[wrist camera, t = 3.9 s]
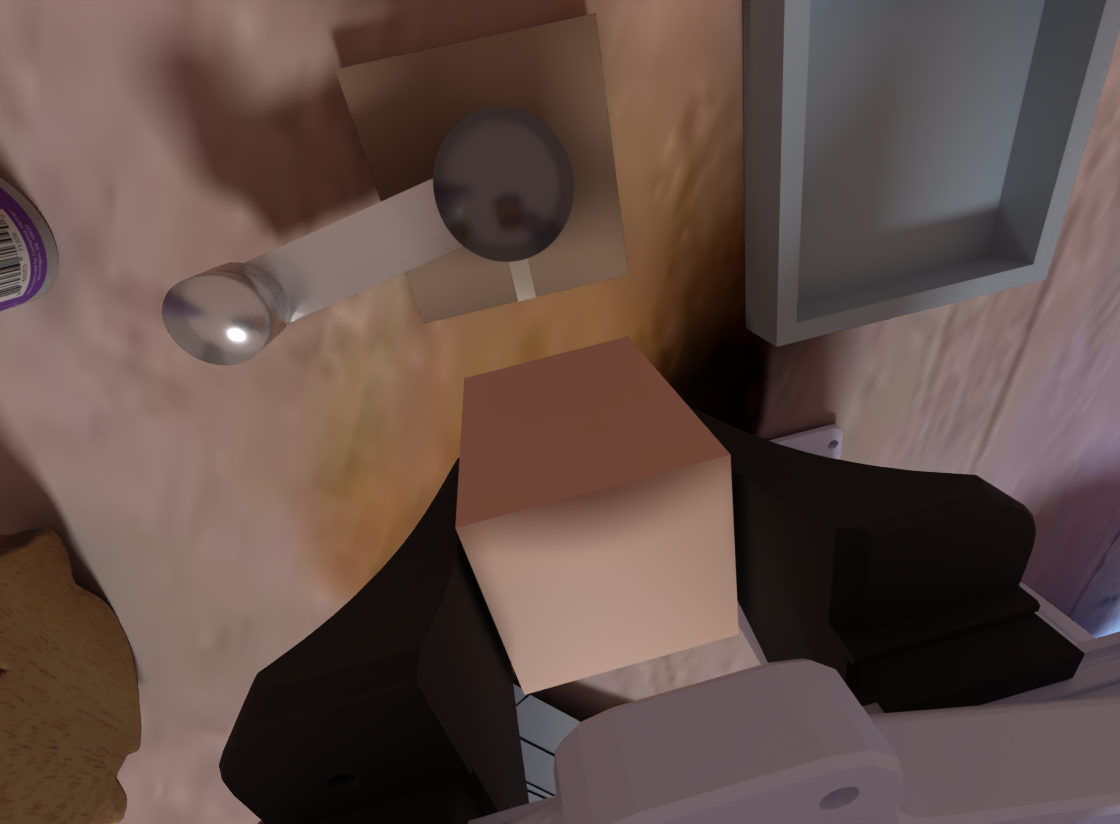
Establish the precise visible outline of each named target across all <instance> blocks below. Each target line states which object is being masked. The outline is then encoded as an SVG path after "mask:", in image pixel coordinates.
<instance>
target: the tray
mask: <svg viewBox="0 0 1120 824" xmlns="http://www.w3.org/2000/svg"><path fill="white" fill-rule="evenodd" d="M1119 29H1120V0H743V85H744V193H745V301H746V328H747V329H748V330H750V331H752V332H753V333H755V334H757V335H758V336H760V337H761V338H763V339H765V340H766V341H768V342H769V343H771V344H773V345H774V346H776V347H778V346H782V345H786V344H790V343H794V342H798V341H802V340H806V339H810V338H814V337H818V336H822V335H826V334H830V333H834V332H838V331H842V330H846V329H850V328H854V327H858V326H862V325H866V324H870V323H874V322H878V321H882V320H886V319H890V318H894V317H898V316H902V315H906V314H910V313H914V312H918V311H922V310H926V309H930V308H934V307H938V306H942V305H946V304H950V303H954V302H958V301H962V300H966V299H970V298H974V297H978V296H982V295H986V294H990V293H994V292H998V291H1002V290H1006V289H1010V288H1014V287H1018V286H1022V285H1026V284H1030V283H1034V282H1038V281H1042V280H1046V278H1047V275H1048V271H1049V268H1050V264H1051V261H1052V258H1053V254H1054V251H1055V247H1056V244H1057V240H1058V237H1059V234H1060V230H1061V227H1062V223H1063V220H1064V217H1065V213H1066V210H1067V206H1068V203H1069V200H1070V196H1071V193H1072V189H1073V186H1074V183H1075V179H1076V176H1077V172H1078V169H1079V166H1080V162H1081V159H1082V155H1083V152H1084V149H1085V145H1086V142H1087V138H1088V135H1089V132H1090V128H1091V125H1092V121H1093V118H1094V115H1095V111H1096V108H1097V104H1098V101H1099V98H1100V94H1101V91H1102V87H1103V84H1104V81H1105V77H1106V74H1107V70H1108V67H1109V64H1110V60H1111V57H1112V53H1113V50H1114V46H1115V43H1116V40H1117V36H1118V33H1119Z"/></svg>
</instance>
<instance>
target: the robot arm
mask: <svg viewBox="0 0 1120 824" xmlns="http://www.w3.org/2000/svg"><path fill="white" fill-rule="evenodd" d="M689 408H690V409H691V410H692V411H693V412H694V413H695V415H696V416H697V417H698V418H699V419H700V420H701V421H702V423H703V424H704V425H705V426H706V427H707V428H708V429H709V431H710V432H711V433H712V434H713V435H714V436H715V437H716V439H717V440H718V441H719V442H720V443H721V444H722V445H723V447H724V448H725V449H726V450H727V451H728V452H729V453H730V455H731V476H732V498H733V520H734V542H735V564H736V585H737V607H738V625H739V627H740V629H741V630H742V632H743V634H744V636H745V637H746V639H747V641H748V643H749V644H750V646H751V648H752V650H753V652H754V653H755V655H756V657H757V659H758V660H759V662H760V664H761V665H759V666H756V667H752V668H749V669H745V670H742V671H738V672H735V673H731V674H728V675H724V676H721V677H717V678H714V679H710V680H707V681H703V682H700V683H696V684H693V685H689V686H686V687H682V688H679V689H675V690H672V691H668V692H665V693H661V694H658V695H654V696H651V697H647V698H644V699H640V700H637V701H633V702H630V703H626V704H623V705H619V706H616V707H612V708H610V709H608V710H606V711H603V712H601V713H599V714H597V715H595V716H593V717H590V718H588V719H586V720H584V721H582V722H580V723H579V724H578V725H577V726H576V727H575V728H574V729H573V730H572V731H571V732H570V734H569V735H568V736H567V737H566V738H565V739H564V740H563V741H562V742H561V743H560V745H559V746H558V747H557V748H556V750H555V760H554V779H555V787H556V796H552V797H549V798H545V799H542V800H539V801H535V802H532V803H529V797H528V790H527V784H526V777H525V770H524V763H523V755H522V748H521V741H520V733H519V726H518V718H517V710H516V702H515V694H514V686H513V677H512V668H511V661H510V659H509V656H508V654H507V651H506V649H505V647H504V644H503V642H502V639H501V637H500V634H499V632H498V630H497V627H496V625H495V622H494V620H493V618H492V615H491V613H490V610H489V608H488V605H487V603H486V601H485V598H484V596H483V593H482V591H481V589H480V586H479V584H478V581H477V579H476V577H475V574H474V572H473V569H472V567H471V564H470V562H469V560H468V557H467V555H466V552H465V550H464V548H463V545H462V543H461V540H460V538H459V535H458V533H457V531H456V528H455V527H456V510H457V494H458V477H459V461H460V458H458V459H457V461H456V462H455V464H454V465H453V467H452V469H451V471H450V472H449V474H448V476H447V478H446V479H445V481H444V483H443V485H442V486H441V488H440V490H439V492H438V493H437V495H436V496H435V498H434V500H433V501H432V503H431V505H430V506H429V508H428V510H427V511H426V513H425V514H424V515H423V517H422V518H421V520H420V521H419V523H418V524H417V526H416V527H415V528H414V530H413V531H412V533H411V534H410V536H409V537H408V538H407V539H406V541H405V542H404V543H403V545H402V546H401V547H400V548H399V549H398V551H397V552H396V553H395V554H394V555H393V556H392V558H391V559H390V560H389V561H388V562H387V563H386V565H385V566H384V567H383V568H382V569H381V570H380V571H379V572H378V573H377V574H376V575H375V576H374V577H373V578H372V579H371V580H370V581H369V582H368V583H367V584H366V585H365V586H364V587H363V588H362V589H361V590H360V591H359V592H358V593H357V594H356V595H355V596H354V597H353V598H352V599H351V600H350V601H349V602H348V603H347V604H345V605H344V606H343V607H342V608H341V609H340V610H339V611H338V612H337V613H335V614H334V615H333V616H332V617H331V618H330V619H328V620H327V621H326V622H325V623H324V624H322V625H321V626H320V627H319V628H318V629H316V630H315V631H314V632H313V633H311V634H310V635H309V636H308V637H306V638H305V639H304V640H302V641H301V642H300V643H298V644H297V645H296V646H294V647H293V648H292V649H290V650H289V651H288V652H286V653H285V654H284V655H282V656H281V657H279V658H278V659H277V660H275V661H274V662H273V663H271V664H270V665H269V666H267V667H266V668H264V669H263V670H261V671H260V672H259V673H257V675H256V677H255V679H254V681H253V683H252V686H251V688H250V690H249V692H248V695H247V697H246V699H245V701H244V704H243V706H242V708H241V711H240V713H239V715H238V718H237V720H236V722H235V725H234V727H233V729H232V732H231V734H230V736H229V739H228V741H227V743H226V746H225V748H224V750H223V753H222V757H221V760H220V763H219V768H220V773H221V777H222V780H223V782H224V783H225V785H226V786H227V787H228V788H229V790H230V791H231V792H232V794H233V795H234V796H235V797H236V798H237V799H238V800H240V801H241V802H242V803H243V804H244V805H245V806H246V807H247V808H249V809H250V810H251V811H252V812H253V813H254V814H255V815H256V816H258V817H259V818H260V819H261V820H262V821H263V822H264V823H265V824H1120V632H1117V633H1113V634H1110V635H1107V636H1103V637H1100V638H1095V637H1093V636H1092V635H1091V634H1089V633H1088V632H1087V631H1086V630H1084V629H1083V628H1082V627H1080V626H1079V625H1078V624H1077V623H1075V622H1074V621H1073V620H1071V619H1070V618H1069V617H1067V616H1066V615H1065V614H1064V613H1062V612H1061V611H1060V610H1058V609H1057V608H1056V607H1054V606H1053V605H1052V604H1050V603H1049V602H1048V601H1046V600H1045V599H1044V598H1042V597H1041V596H1040V595H1038V594H1037V593H1036V592H1034V591H1033V590H1032V589H1030V588H1029V587H1028V586H1026V585H1025V584H1024V583H1022V582H1021V579H1022V576H1023V573H1024V571H1025V568H1026V565H1027V562H1028V560H1029V557H1030V554H1031V551H1032V549H1033V544H1034V539H1035V534H1036V529H1035V523H1034V518H1033V515H1032V514H1031V513H1030V511H1029V510H1028V509H1027V508H1026V507H1025V506H1024V505H1023V504H1021V503H1020V502H1018V501H1016V500H1015V499H1013V498H1012V497H1010V496H1009V495H1007V494H1005V493H1004V492H1002V491H1001V490H999V489H997V488H996V487H994V486H993V485H991V484H989V483H988V482H986V481H985V480H983V479H982V478H980V477H978V476H976V475H967V474H953V473H938V472H923V471H911V470H903V469H895V468H887V467H879V466H872V465H866V464H860V463H854V462H849V461H844V460H840V455H841V446H842V436H843V431H842V429H841V428H840V427H838V426H837V425H834V424H832V425H827V426H823V427H819V428H815V429H811V430H808V431H804V432H800V433H796V434H792V435H788V436H784V437H780V438H777V439H773V440H769V441H768V440H766V439H763V438H760V437H757V436H755V435H752V434H749V433H747V432H744V431H742V430H740V429H737V428H735V427H732V426H730V425H728V424H726V423H723V422H721V421H719V420H717V419H715V418H712V417H710V416H708V415H706V414H704V413H702V412H700V411H698V410H696V409H693V408H691V407H689ZM831 441H832V442H831ZM830 442H831V443H830ZM829 443H830V444H829Z"/></svg>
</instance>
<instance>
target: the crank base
mask: <svg viewBox="0 0 1120 824" xmlns="http://www.w3.org/2000/svg"><path fill="white" fill-rule="evenodd" d="M335 71H336V74H337V77H338V80H339V83H340V85H341V88H342V91H343V94H344V97H345V100H346V103H347V106H348V108H349V111H350V114H351V117H352V120H353V123H354V126H355V128H356V131H357V134H358V137H359V140H360V143H361V146H362V149H363V151H364V154H365V157H366V160H367V163H368V166H369V169H370V171H371V174H372V177H373V180H374V183H375V186H376V189H377V191H378V194H379V197H380V200H381V201H384V200H386V199H388V198H390V197H392V196H395V195H397V194H399V193H401V192H404V191H406V190H408V189H410V188H413V187H415V186H417V185H419V184H421V183H424V182H426V181H428V180H430V179H433V172H434V165H435V161H436V157H437V154H438V151H439V149H440V147H441V145H442V143H443V141H444V139H445V138H446V136H447V135H448V134H449V132H450V131H451V130H452V129H453V128H454V127H455V126H456V125H457V124H458V123H459V122H460V121H462V120H463V119H464V118H465V117H467V116H469V115H471V114H473V113H475V112H478V111H480V110H483V109H488V108H495V107H505V108H513V109H517V110H521V111H523V112H526V113H528V114H530V115H532V116H534V117H536V118H537V119H539V120H540V121H542V122H543V123H544V124H545V125H546V126H548V127H549V128H550V129H551V131H552V132H553V133H554V134H555V135H556V136H557V138H558V139H559V141H560V142H561V144H562V145H563V147H564V149H565V151H566V153H567V156H568V158H569V161H570V164H571V168H572V172H573V179H574V197H573V204H572V209H571V212H570V215H569V218H568V220H567V222H566V224H565V227H564V228H563V230H562V231H561V233H560V234H559V236H558V237H557V238H556V239H555V240H554V242H553V243H552V244H550V245H549V246H548V247H547V248H546V249H544V250H543V251H542V252H540V253H538V254H536V255H534V256H533V257H530V258H527V259H524V260H520V261H514V262H499V261H494V260H489V259H486V258H483V257H481V256H479V255H477V254H474V253H473V252H471V251H470V250H468V249H467V248H465V247H464V246H463V247H461V248H459V249H456V250H454V251H452V252H450V253H447V254H445V255H443V256H441V257H438V258H436V259H434V260H431V261H429V262H427V263H425V264H422V265H420V266H418V267H416V268H413V269H411V270H409V271H406V275H407V277H408V280H409V283H410V286H411V289H412V292H413V295H414V298H415V300H416V303H417V306H418V309H419V312H420V315H421V318H422V320H423V323H424V324H425V323H429V322H433V321H437V320H441V319H445V318H450V317H454V316H458V315H462V314H466V313H470V312H475V311H479V310H483V309H487V308H491V307H495V306H500V305H504V304H508V303H512V302H516V301H518V302H519V301H524V300H528V299H532V298H536V297H537V296H541V295H546V294H550V293H554V292H558V291H562V290H566V289H571V288H575V287H579V286H583V285H587V284H591V283H596V282H600V281H604V280H608V279H612V278H616V277H621V276H625V275H628V267H627V259H626V251H625V243H624V235H623V227H622V220H621V212H620V204H619V196H618V188H617V180H616V172H615V164H614V156H613V148H612V140H611V133H610V125H609V117H608V109H607V101H606V93H605V85H604V77H603V69H602V61H601V53H600V45H599V38H598V30H597V22H596V14H595V13H594V14H589V15H585V16H580V17H575V18H571V19H566V20H561V21H557V22H552V23H547V24H543V25H538V26H533V27H529V28H524V29H520V30H515V31H510V32H506V33H501V34H496V35H492V36H487V37H482V38H478V39H473V40H468V41H464V42H459V43H454V44H450V45H445V46H440V47H436V48H431V49H427V50H422V51H417V52H413V53H408V54H403V55H399V56H394V57H389V58H385V59H380V60H375V61H371V62H366V63H361V64H357V65H352V66H348V67H343V68H338V69H335Z"/></svg>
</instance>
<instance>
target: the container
mask: <svg viewBox="0 0 1120 824" xmlns="http://www.w3.org/2000/svg"><path fill="white" fill-rule="evenodd" d="M57 267H58V255H57V249H56V245H55V241H54V239H53V236H52V234H51V232H50V230H49V228H48V226H47V224H46V222H45V221H44V219H43V218H42V216H41V215H40V213H39V212H38V211H37V210H36V208H35V207H34V206H33V205H32V204H31V203H30V202H29V201H28V199H27V198H26V197H25V196H23V195H22V194H21V193H20V192H19V191H18V190H17V189H16V188H14V187H13V186H12V185H11V184H9V183H8V182H7V181H5V180H4V179H2V178H1V177H0V311H2V310H5V309H8V308H12V307H15V306H17V305H20V304H23V303H26V302H29V301H31V300H34V299H36V298H37V297H39V296H41V295H42V294H43V293H44V292H46V291H47V290H48V288H49V287H50V286H51V284H52V283H53V281H54V279H55V276H56V273H57Z"/></svg>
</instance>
